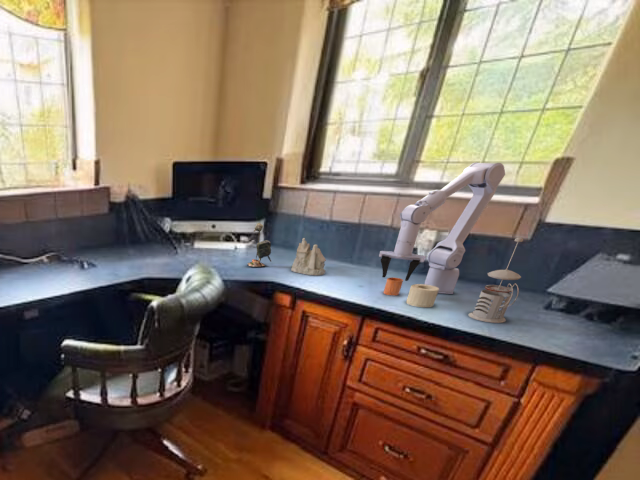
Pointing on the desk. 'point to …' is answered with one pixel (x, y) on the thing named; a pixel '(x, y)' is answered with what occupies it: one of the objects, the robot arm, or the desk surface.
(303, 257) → the ceramic cottage
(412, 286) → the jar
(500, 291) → the french press
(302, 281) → the desk surface
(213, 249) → the desk surface
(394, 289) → the cup
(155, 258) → the desk surface
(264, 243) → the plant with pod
